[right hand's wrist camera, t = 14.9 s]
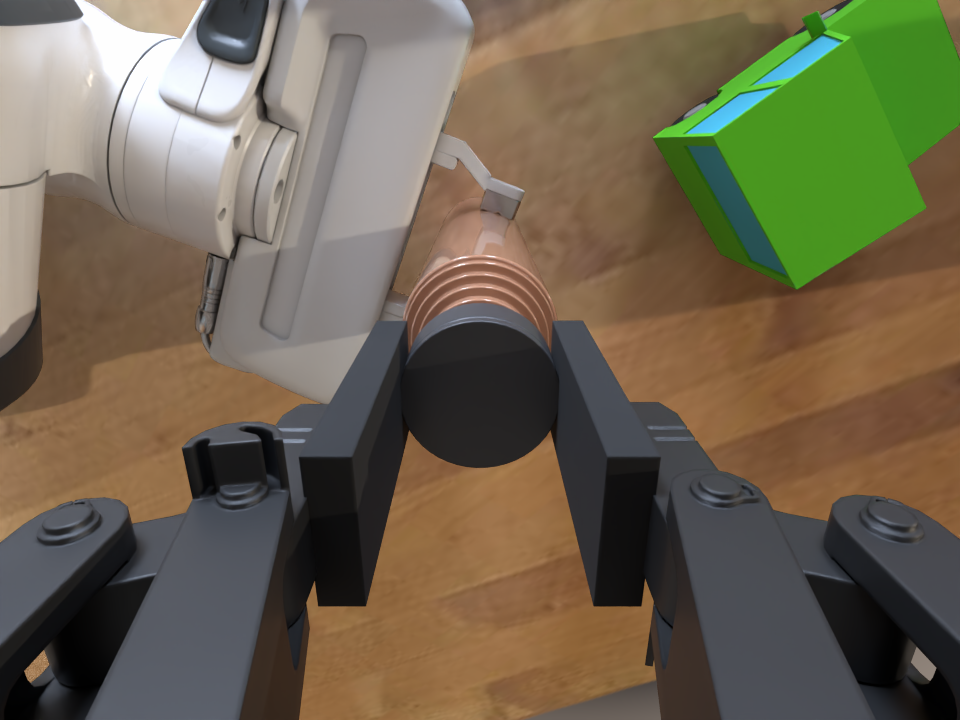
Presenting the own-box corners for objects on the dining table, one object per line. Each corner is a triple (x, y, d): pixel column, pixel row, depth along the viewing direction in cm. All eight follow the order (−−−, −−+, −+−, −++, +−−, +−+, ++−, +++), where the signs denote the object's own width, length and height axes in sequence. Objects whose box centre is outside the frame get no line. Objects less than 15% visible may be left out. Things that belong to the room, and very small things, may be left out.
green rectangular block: (926, 128, 33) (1104, 123, 23) (720, 264, 36) (806, 307, 26) (855, -40, 30) (1026, -124, 20) (637, 122, 33) (700, 114, 23)
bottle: (450, 281, 36) (407, 490, 14) (433, 205, 34) (354, 313, 13) (524, 266, 36) (594, 457, 14) (510, 189, 34) (564, 270, 12)
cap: (580, 389, 15) (591, 416, 13) (462, 461, 15) (461, 494, 14) (499, 272, 13) (501, 287, 12) (377, 356, 14) (365, 379, 13)
